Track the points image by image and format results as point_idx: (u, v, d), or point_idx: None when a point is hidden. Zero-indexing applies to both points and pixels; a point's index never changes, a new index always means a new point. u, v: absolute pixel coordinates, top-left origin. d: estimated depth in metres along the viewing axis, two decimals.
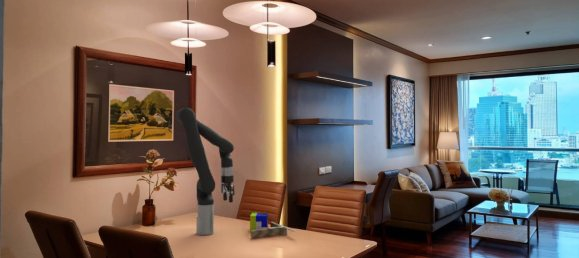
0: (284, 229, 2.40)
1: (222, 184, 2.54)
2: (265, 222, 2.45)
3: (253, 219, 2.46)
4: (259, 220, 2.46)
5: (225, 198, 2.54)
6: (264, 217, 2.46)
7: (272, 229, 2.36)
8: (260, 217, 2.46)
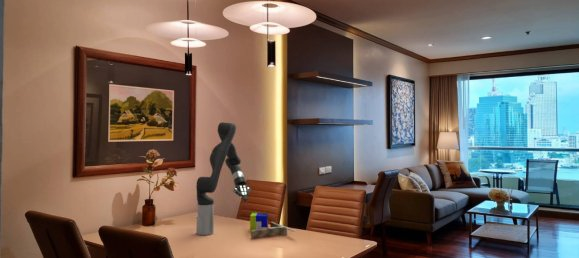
0: (284, 229, 2.40)
1: (235, 188, 2.72)
2: (265, 222, 2.45)
3: (253, 219, 2.46)
4: (259, 220, 2.46)
5: None
6: (264, 217, 2.46)
7: (272, 229, 2.36)
8: (260, 217, 2.46)
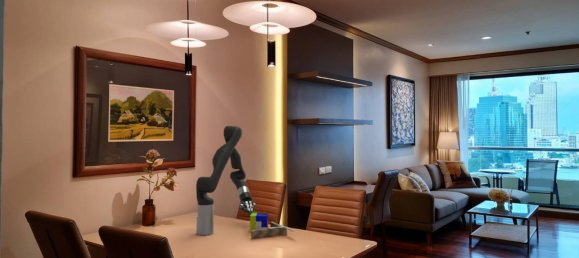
0: (284, 229, 2.40)
1: (241, 204, 2.63)
2: (265, 222, 2.45)
3: (253, 219, 2.46)
4: (259, 220, 2.46)
5: None
6: (264, 217, 2.46)
7: (272, 229, 2.36)
8: (260, 217, 2.46)
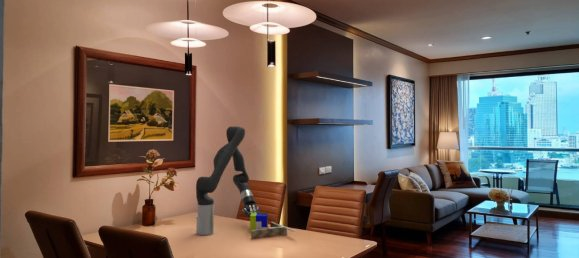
0: (284, 229, 2.40)
1: (244, 208, 2.58)
2: (265, 222, 2.45)
3: (253, 219, 2.45)
4: (259, 220, 2.45)
5: None
6: (264, 217, 2.45)
7: (272, 229, 2.36)
8: (260, 217, 2.45)
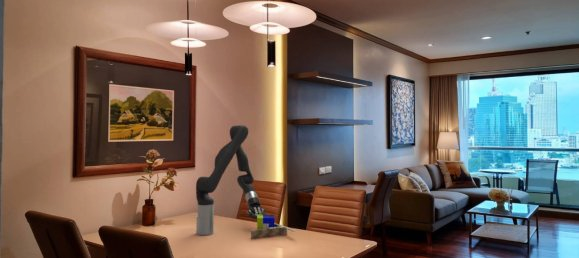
0: (284, 229, 2.40)
1: (249, 210, 2.51)
2: (272, 224, 2.39)
3: (260, 221, 2.39)
4: (266, 222, 2.39)
5: None
6: (271, 219, 2.39)
7: (272, 229, 2.36)
8: (267, 219, 2.39)
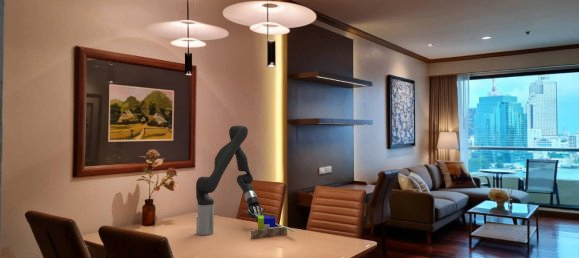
0: (284, 229, 2.40)
1: (248, 210, 2.53)
2: (273, 224, 2.39)
3: (261, 222, 2.38)
4: (267, 223, 2.38)
5: None
6: (272, 219, 2.39)
7: (272, 229, 2.36)
8: (268, 219, 2.38)
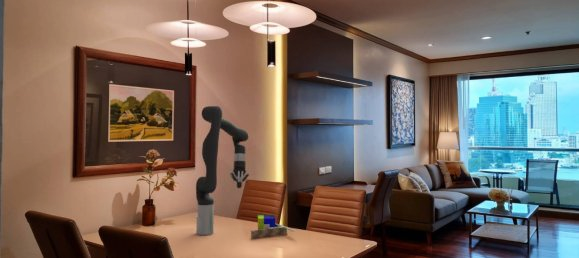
0: (284, 229, 2.40)
1: (232, 173, 2.62)
2: (273, 225, 2.39)
3: (261, 222, 2.38)
4: (267, 223, 2.38)
5: None
6: (272, 219, 2.39)
7: (272, 229, 2.36)
8: (268, 219, 2.38)
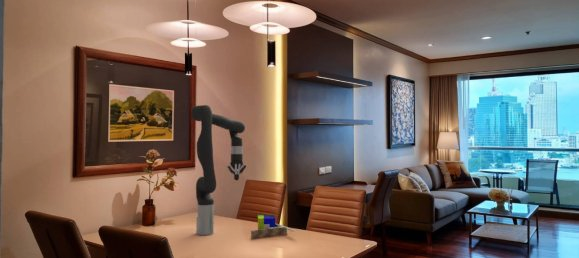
0: (284, 229, 2.40)
1: (229, 166, 2.62)
2: (273, 224, 2.39)
3: (261, 222, 2.38)
4: (267, 223, 2.38)
5: None
6: (272, 219, 2.39)
7: (272, 229, 2.36)
8: (268, 219, 2.38)
